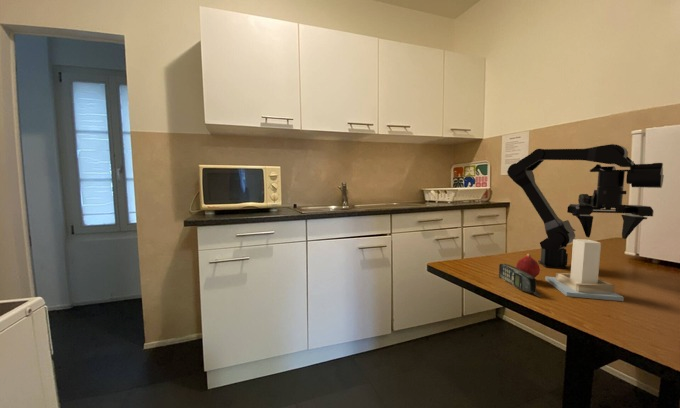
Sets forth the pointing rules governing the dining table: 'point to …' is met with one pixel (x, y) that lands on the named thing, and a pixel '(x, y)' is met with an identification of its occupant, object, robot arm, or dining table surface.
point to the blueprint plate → (574, 293)
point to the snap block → (585, 261)
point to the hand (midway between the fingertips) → (605, 237)
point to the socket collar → (579, 287)
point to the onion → (528, 265)
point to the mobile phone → (518, 278)
